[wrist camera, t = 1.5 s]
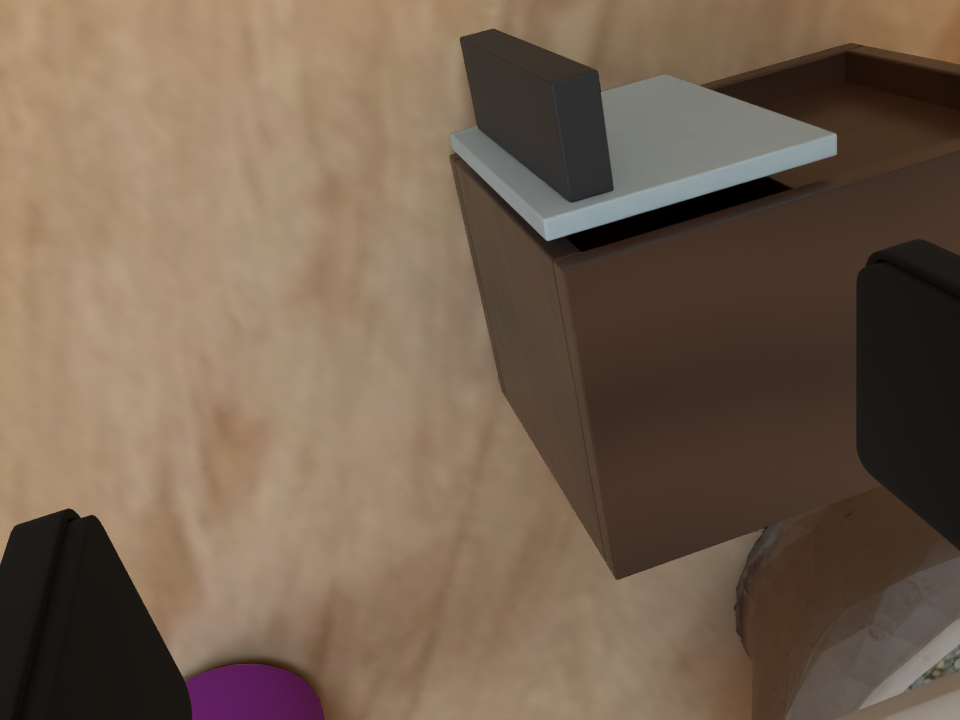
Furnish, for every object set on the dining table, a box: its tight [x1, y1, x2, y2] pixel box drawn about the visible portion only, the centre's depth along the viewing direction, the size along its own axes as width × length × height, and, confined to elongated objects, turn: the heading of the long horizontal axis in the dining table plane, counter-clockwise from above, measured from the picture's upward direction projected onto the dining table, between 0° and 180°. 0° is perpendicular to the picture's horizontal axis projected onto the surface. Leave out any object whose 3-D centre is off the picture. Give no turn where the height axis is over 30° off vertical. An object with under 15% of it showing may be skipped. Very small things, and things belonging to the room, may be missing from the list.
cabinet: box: [450, 43, 960, 580], centre depth 30 cm, size 10×16×12 cm, turn 102°
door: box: [450, 29, 837, 241], centre depth 26 cm, size 4×8×10 cm, turn 102°
